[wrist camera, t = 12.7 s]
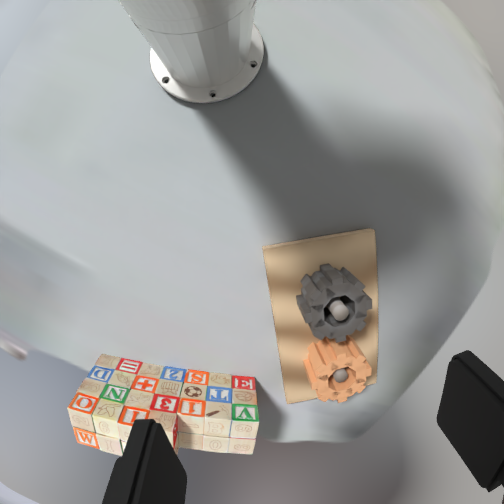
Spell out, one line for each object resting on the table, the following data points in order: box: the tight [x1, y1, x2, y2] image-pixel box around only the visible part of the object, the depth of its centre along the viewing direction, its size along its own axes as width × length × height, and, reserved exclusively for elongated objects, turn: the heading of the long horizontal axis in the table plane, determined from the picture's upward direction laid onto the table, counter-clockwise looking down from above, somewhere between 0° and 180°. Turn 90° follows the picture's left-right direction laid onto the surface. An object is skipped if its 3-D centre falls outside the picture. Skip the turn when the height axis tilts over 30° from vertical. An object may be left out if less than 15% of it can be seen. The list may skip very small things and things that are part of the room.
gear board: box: [262, 228, 378, 404], centre depth 36 cm, size 22×13×7 cm, turn 9°
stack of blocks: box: [68, 354, 259, 456], centre depth 34 cm, size 21×6×12 cm, turn 82°
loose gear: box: [303, 335, 372, 403], centre depth 36 cm, size 7×7×5 cm
